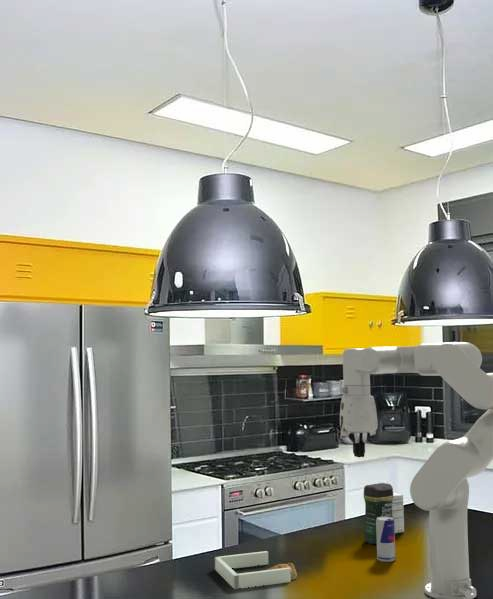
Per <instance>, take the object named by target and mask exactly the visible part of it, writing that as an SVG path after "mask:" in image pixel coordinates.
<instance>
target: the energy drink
mask: <svg viewBox="0 0 493 599" xmlns="http://www.w3.org/2000/svg"><path fill="white" fill-rule="evenodd" d="M376 537H377V544H376V558H377V561H379V562H383V563H390V562H394V561H395V560H396V558H397V557H396V539H395V538H396V533H395V528H394V520H393V518H392V517H386V516H382V517H377V519H376Z"/></svg>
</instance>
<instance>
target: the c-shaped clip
mask: <svg viewBox="0 0 493 599" xmlns="http://www.w3.org/2000/svg"><path fill="white" fill-rule="evenodd" d="M258 565H259V566H266V565H269V551H267V550H264V551H257V552H247V553H238V554H229V555H222V556H214V570H215V571H216V572H217V574H219V575H220V576H221V577H222V578H223V579H224V580H225V582H227V584H228V585H229V586H231V587H232V588H233V590H240V589H239V588H241V589H247V588H248V587H249V588H255V586H256V587H263V585H264V586H270V585H277V584H278V585H279V584H284V583H291V582H292V580H291V569H290V568H289V567H288V568H280V569H272V570H267V569H265V570H259V571H250V572H249V571H248V572H242V573H241V572H240V573H237V572H236V571H235V569H240V568H251V567H255V566H256V567H258ZM232 568H234V569H232ZM249 588H248V589H249Z"/></svg>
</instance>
